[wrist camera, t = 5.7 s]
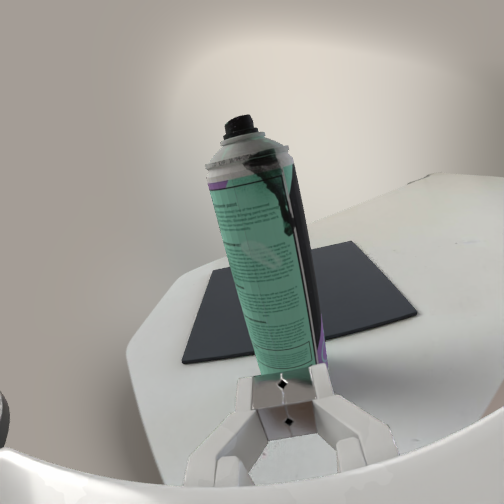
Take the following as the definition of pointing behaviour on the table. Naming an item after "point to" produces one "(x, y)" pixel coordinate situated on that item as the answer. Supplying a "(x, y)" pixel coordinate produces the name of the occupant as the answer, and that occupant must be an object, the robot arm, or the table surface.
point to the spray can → (267, 247)
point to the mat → (330, 297)
